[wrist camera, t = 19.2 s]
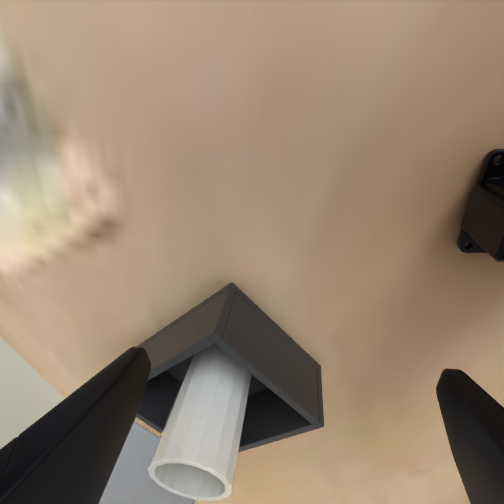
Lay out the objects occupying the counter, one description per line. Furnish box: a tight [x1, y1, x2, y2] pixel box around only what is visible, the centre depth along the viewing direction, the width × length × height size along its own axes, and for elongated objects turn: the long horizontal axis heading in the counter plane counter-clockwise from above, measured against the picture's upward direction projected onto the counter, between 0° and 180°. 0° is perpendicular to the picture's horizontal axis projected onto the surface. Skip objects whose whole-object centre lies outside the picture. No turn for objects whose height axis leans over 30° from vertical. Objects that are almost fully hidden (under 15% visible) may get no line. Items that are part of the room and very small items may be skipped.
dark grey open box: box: [136, 283, 324, 452], centre depth 27 cm, size 14×12×6 cm
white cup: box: [148, 343, 252, 501], centre depth 24 cm, size 6×6×10 cm
